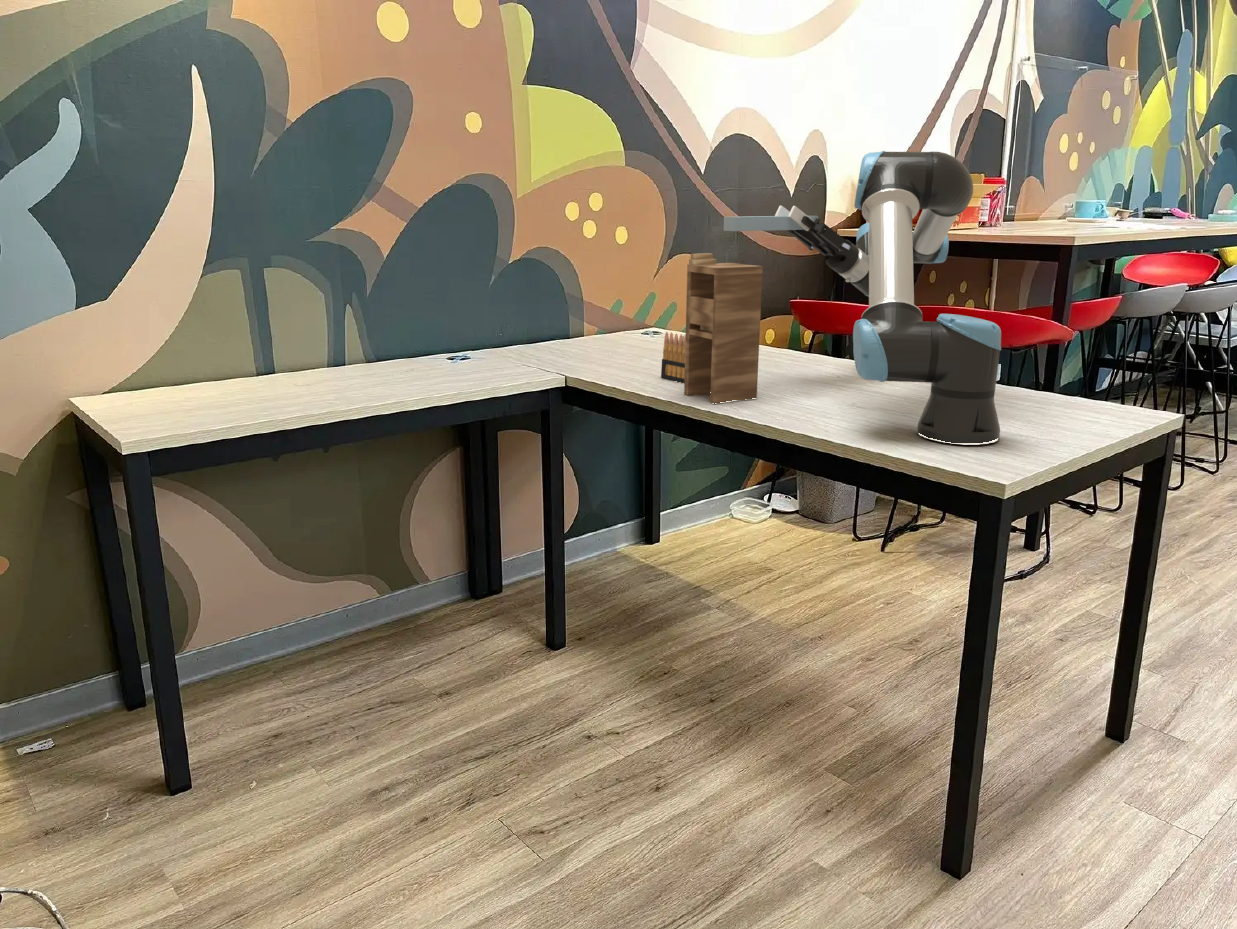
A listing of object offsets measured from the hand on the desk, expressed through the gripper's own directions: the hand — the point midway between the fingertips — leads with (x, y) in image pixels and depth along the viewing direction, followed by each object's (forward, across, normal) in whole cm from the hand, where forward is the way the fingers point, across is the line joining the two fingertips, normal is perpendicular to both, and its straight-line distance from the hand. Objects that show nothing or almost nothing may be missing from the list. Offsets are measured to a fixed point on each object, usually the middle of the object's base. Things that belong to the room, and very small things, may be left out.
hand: (785, 210), depth 213 cm
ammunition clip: (-8, +20, -44) cm, 49 cm away
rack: (-6, 0, -44) cm, 45 cm away
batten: (+1, 0, -5) cm, 6 cm away
